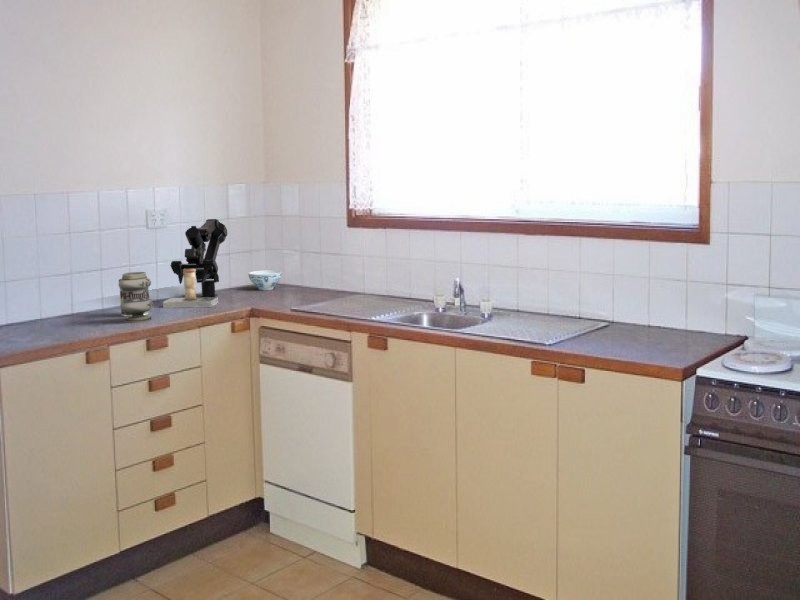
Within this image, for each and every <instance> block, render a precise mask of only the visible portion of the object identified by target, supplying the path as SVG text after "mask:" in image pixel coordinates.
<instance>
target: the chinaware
mask: <svg viewBox="0 0 800 600" xmlns="http://www.w3.org/2000/svg"><path fill="white" fill-rule="evenodd" d="M282 273H283V271H281V270H275V269H274V270H273V269H270V270H269V269H268V270H266V269H265V270H256V271H255V270H254V271H250V272H248V273H247V274H248V277H249V280H250V282H251V283H252V284H253V286H255V287H256V288H258V290H259V291H270V290H274V287H275V286H277V285H278V284H279V282H280V280H281V277H282Z"/></svg>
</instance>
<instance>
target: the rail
mask: <svg viewBox="0 0 800 600" xmlns="http://www.w3.org/2000/svg"><path fill="white" fill-rule="evenodd" d="M217 303H218V304H219V297H218V296H214V297H196V300H195V301H185V297H170V298H168V299H166V300H164V301H162V309H176V308H177V309H178V308H181V309H182V308H212V307H214V306H216V305H218V304H217Z"/></svg>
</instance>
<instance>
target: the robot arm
mask: <svg viewBox="0 0 800 600" xmlns="http://www.w3.org/2000/svg"><path fill="white" fill-rule="evenodd" d="M184 234H185V237H186V239H187V242H188V244H189V246H191V248H185V249H184V258H185V261H186V262H187V263H183V262H182V260H172V261H171V262H170V268H171V270H172V272H173V274H175V275H176V276H178V277H177V278H178V282H179V284H180V285H181V284H182V283H183V280H184V274H183V269H194V274H195V281H196V283H197V284H201V285H200V287H201V294H200V295H199V298H202V297H217V296H218V295H219V294H218V293H216V284H215V283H219V282H220V278H219V277H220V276H219V274H218V270H219V266H218V263H217V262H216V260H217V255H218V252H219V248H220V245H222V243H224V242H225V241H226V239H227V238H226V237H228V229H227V227H226V225H225V224H224V223H222V222H221V221H219V219H217V218H210V219H209V218H208V219H206V221H205V222H204V223H203V225H201V226H200V227H197V225H191V227H190V228H188V229H186V231H185V232H184ZM206 243H208V244H207V248H206Z"/></svg>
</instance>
